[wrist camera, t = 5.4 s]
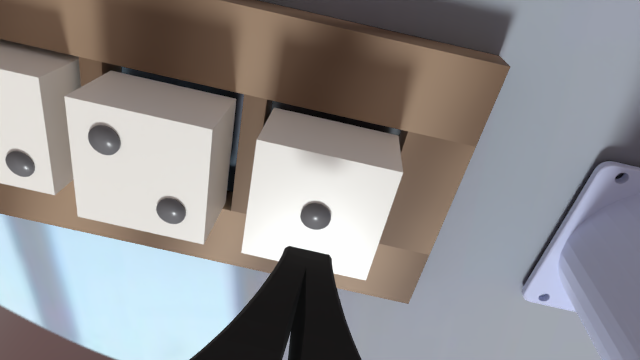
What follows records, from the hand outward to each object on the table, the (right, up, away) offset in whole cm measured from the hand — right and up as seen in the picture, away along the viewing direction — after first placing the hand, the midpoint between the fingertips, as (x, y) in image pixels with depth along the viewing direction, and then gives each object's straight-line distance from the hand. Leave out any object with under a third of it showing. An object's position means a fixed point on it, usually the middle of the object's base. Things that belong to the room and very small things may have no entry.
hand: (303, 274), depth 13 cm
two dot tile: (-6, +5, +5) cm, 9 cm away
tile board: (-6, +5, +6) cm, 10 cm away
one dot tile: (+1, +3, +5) cm, 6 cm away
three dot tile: (-12, +6, +6) cm, 15 cm away
